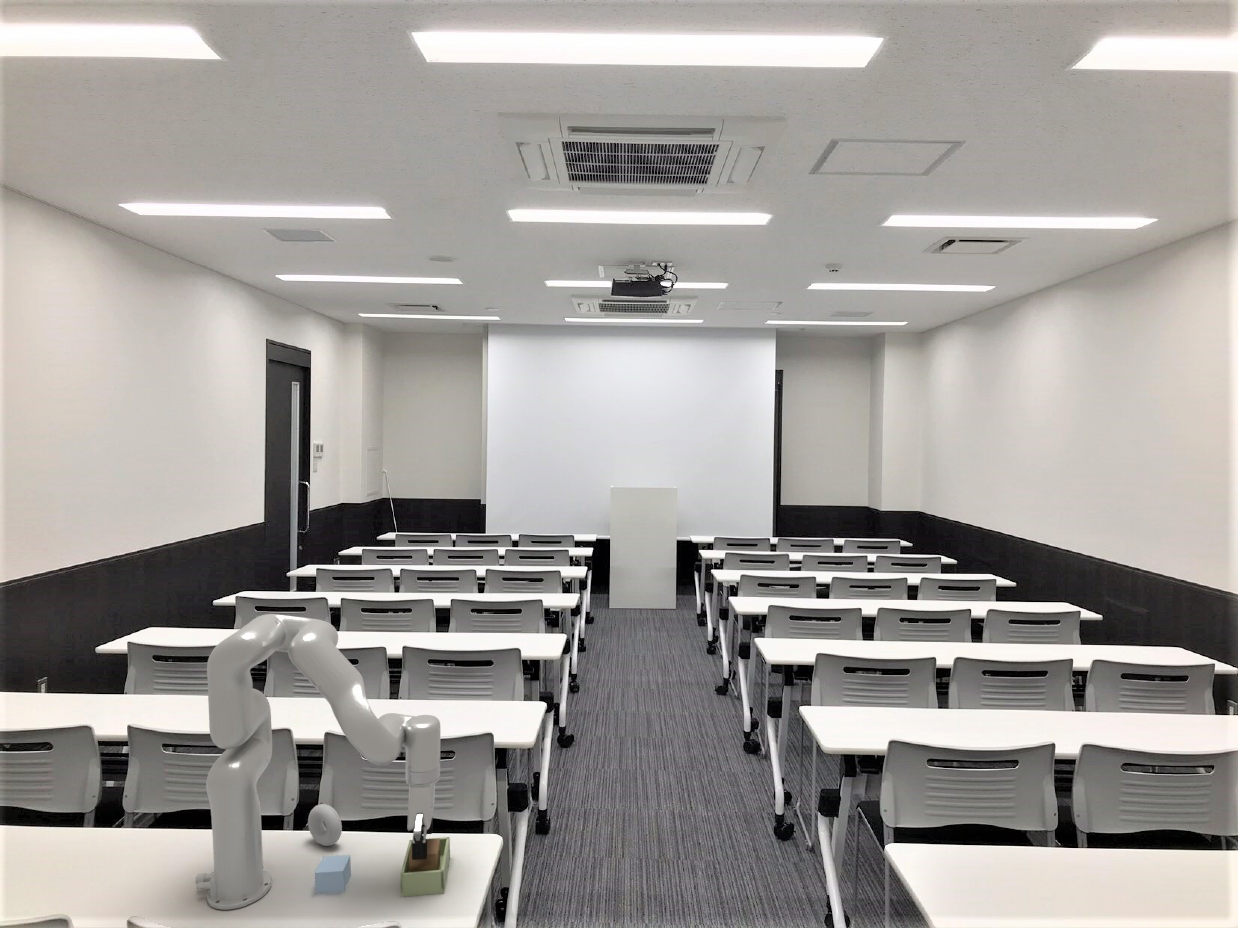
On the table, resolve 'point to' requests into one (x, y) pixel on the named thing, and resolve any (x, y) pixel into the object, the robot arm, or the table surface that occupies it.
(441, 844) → the box
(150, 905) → the table surface
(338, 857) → the blue carton
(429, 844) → the walnut block
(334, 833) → the donut
